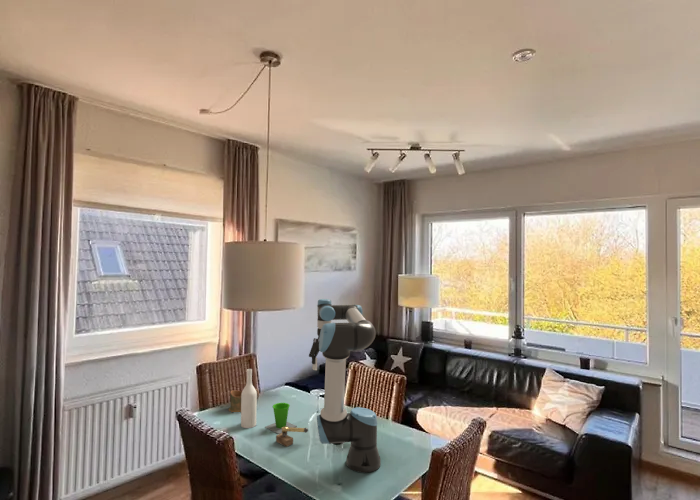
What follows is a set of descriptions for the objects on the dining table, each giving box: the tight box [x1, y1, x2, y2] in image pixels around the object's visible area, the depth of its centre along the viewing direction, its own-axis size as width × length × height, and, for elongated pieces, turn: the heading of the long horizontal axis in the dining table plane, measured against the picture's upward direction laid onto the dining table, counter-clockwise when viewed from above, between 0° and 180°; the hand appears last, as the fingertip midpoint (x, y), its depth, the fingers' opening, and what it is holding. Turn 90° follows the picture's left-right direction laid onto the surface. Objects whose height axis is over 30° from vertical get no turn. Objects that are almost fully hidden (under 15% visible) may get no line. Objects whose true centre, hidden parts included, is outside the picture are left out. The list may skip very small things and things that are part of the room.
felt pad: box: [264, 421, 298, 435], centre depth 209 cm, size 12×12×1 cm
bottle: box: [240, 368, 258, 429], centre depth 211 cm, size 8×8×30 cm
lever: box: [282, 426, 309, 433], centre depth 192 cm, size 13×3×2 cm, turn 85°
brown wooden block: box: [275, 432, 294, 448], centre depth 191 cm, size 8×4×5 cm, turn 49°
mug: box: [228, 388, 260, 413], centre depth 233 cm, size 12×18×12 cm, turn 89°
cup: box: [272, 402, 291, 428], centre depth 209 cm, size 9×9×11 cm
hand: (323, 367), depth 211 cm, fingers open, 13 cm apart
